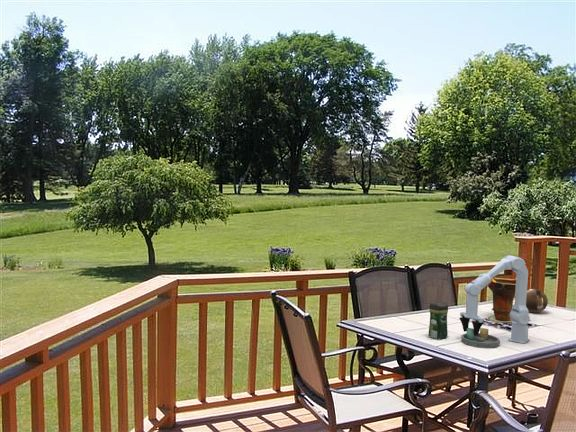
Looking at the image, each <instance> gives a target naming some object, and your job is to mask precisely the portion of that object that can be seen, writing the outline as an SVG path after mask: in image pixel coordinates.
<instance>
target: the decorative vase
mask: <svg viewBox="0 0 576 432" xmlns="http://www.w3.org/2000/svg"><path fill="white" fill-rule="evenodd" d="M486 287H487V288H488V289H489V290H490V291H491V292H492V308H491V311H493V314H494V315H491V316H487V317H486V320H489V321H491V322H494V323H501V324H502V323H506V324H507V323H509V324H512V319H511V318H510V312H511V310H512V306H513V305H514V301H515V289H516V277H515V278H513V279H512V278H501V277H496V276H495V277H493V278H492V279H491V283H489V284H488V285H487V286H486Z"/></svg>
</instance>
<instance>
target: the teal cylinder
mask: <svg viewBox="0 0 576 432" xmlns="http://www.w3.org/2000/svg"><path fill="white" fill-rule="evenodd" d="M466 333H467V334H466V339H468V340H474V339H475V335H474V328H473V327H471V328H470V327H468V328H467V331H466Z"/></svg>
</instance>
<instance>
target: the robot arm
mask: <svg viewBox="0 0 576 432" xmlns="http://www.w3.org/2000/svg"><path fill="white" fill-rule="evenodd" d="M507 270H512V271H513V272H514V273H515V274H516V275H515V278H516V289H515V295H514V302H513V306H512V310H511V312H510V318H511V319H512V323H511V327H510V328H511V329H510V330H511V331H510V338H508V341H510V342H515V343H519V344H520V343H521V344H526V343H527V342H528V341H530V338H528V337H529V326H528V324H529V323H530V321H531V320H530V319H531V318H530V315H529V313H530V311H528V309H527V307H526V297H527V291H528V283H529V282H528V281H529V279H528V278H529V270H528V268H527V265H526V261H525V260H524V259H523V258H521V257H519V256H514V255H511V254H509V255H508V254H507V255H505V256H504V257H503V258H501V260H500V261H499V262H498V263H497V264H495V266H493V267H492V268H491V269H490V270H489V271H488V272H486V273H480V274H479V275H478V277H477V278H476V279H474V280H471V282H469V283H467V284H466V285H465V287H464V291H465V294H466V297H465V312H463V311H461V312H459V315H460V317H459V321H460V322H461V325H462V329H463V332H465V333H466V332H467V328H469V325H470V321H471V320H472V321H471V323H472V328H473V329H474V335H478V333H480V328H482V326H483V325H484V318H482V317H480V316H479V315H478V309H479V295H480V294H481V291H482V290H483V289H485V288H486V287H488V286H487V285H488V284H489V283H491V279H492V278H493V277H495V278H496V276H497V275H499V274H500V273H501V272H503V271H507Z"/></svg>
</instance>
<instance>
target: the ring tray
mask: <svg viewBox="0 0 576 432" xmlns="http://www.w3.org/2000/svg"><path fill="white" fill-rule="evenodd" d="M466 334H467V332H465V333H463V334H461V335H460V338H461V343H463V344H464V345H467V346H469V347H472V348H473V347H474V348H481V349H494V348H498V347H499V346H500V344H501V340H500V338H499V337H497V336H495V335H493V334H488V340H485V338H483V337H480V332H479V333H478V335H475V339H474V340H468V339H466Z"/></svg>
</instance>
